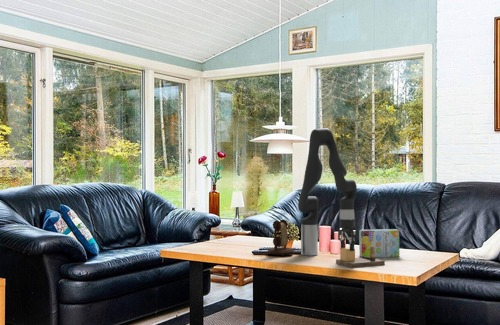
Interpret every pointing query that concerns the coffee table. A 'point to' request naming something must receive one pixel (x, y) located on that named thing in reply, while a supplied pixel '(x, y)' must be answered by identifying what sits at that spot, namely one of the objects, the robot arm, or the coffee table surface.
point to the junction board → (362, 260)
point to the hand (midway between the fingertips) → (347, 250)
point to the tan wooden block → (347, 254)
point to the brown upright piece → (280, 239)
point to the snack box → (379, 242)
